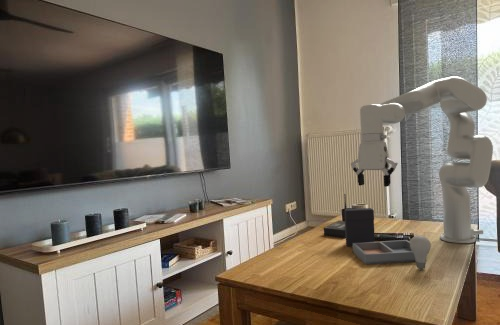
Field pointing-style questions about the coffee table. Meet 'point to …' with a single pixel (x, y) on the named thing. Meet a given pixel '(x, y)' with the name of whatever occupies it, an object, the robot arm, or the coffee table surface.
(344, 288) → the coffee table surface
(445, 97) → the robot arm
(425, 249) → the lightbulb
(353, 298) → the coffee table surface
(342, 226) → the wireless controller
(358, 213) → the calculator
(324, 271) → the coffee table surface
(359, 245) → the sorting tray
